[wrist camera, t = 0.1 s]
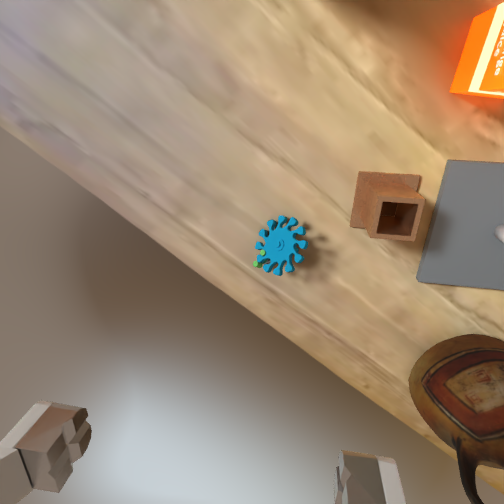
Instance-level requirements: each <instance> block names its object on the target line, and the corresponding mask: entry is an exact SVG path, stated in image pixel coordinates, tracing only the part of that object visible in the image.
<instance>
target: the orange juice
mask: <svg viewBox="0 0 504 504" xmlns="http://www.w3.org/2000/svg"><path fill="white" fill-rule="evenodd" d="M450 93H459V94H467V95H476V96H484V97H493V98H501V99H504V2H503V3H501V4H499V5H498V6H496V7H494V8H492V9H490V10H488V11H486V12H484V13H482V14H480V15H478V16H476V17H474V19H473V22H472V25H471V28H470V31H469V34H468V37H467V40H466V43H465V46H464V49H463V52H462V55H461V59H460V62H459V65H458V68H457V71H456V74H455V77H454V80H453V83H452V86H451V89H450Z"/></svg>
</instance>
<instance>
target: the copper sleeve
mask: <svg viewBox="0 0 504 504" xmlns="http://www.w3.org/2000/svg"><path fill="white" fill-rule="evenodd" d="M419 179H420V175H412V174H395V173H379V172H363V171H359V173H358V179H357V185H356V191H355V197H354V203H353V209H352V215H351V221H350V227H359V228H366V230H367V232H368V234H369V236H370V238H380V239H392V240H404V241H415V239H416V235H417V231H418V227H419V223H420V219H421V215H422V211H423V207H424V203H425V198H423V197H422V196H421V195H420V194H418V193H417V192H416V191H417V187H418V183H419ZM383 201H384V202H398V204H397V208H396V213H395V216H385V215H380V212H381V208H382V203H383Z"/></svg>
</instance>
